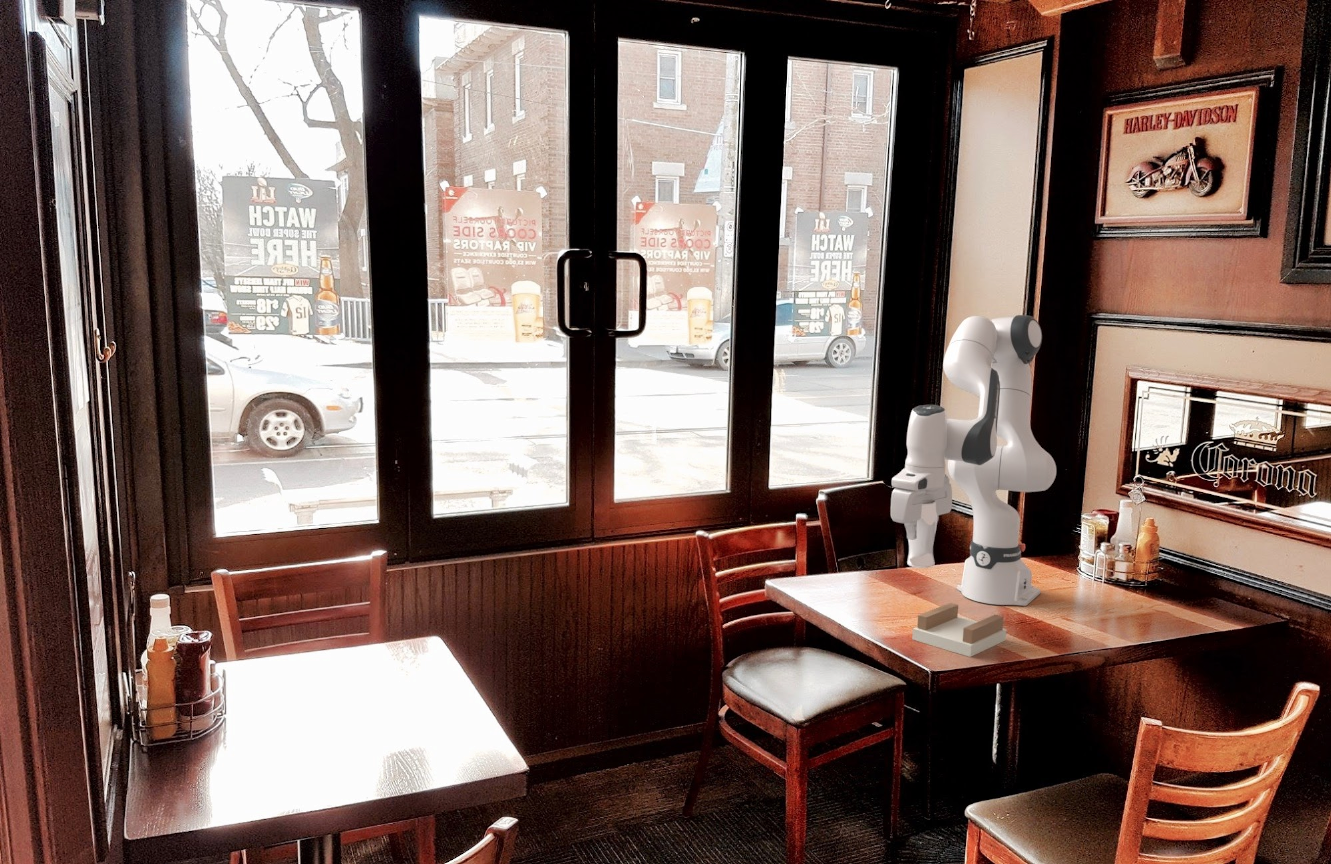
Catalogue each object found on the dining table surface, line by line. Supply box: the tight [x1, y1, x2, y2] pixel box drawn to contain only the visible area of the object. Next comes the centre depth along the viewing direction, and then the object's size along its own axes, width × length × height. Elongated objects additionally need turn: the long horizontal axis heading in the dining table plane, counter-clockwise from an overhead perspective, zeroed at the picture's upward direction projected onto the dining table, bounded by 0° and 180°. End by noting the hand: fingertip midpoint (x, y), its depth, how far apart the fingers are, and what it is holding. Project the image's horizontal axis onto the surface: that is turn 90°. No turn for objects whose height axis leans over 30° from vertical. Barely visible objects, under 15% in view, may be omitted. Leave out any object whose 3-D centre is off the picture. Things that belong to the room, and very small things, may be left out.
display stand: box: [911, 602, 1008, 658], centre depth 219 cm, size 16×14×6 cm
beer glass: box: [905, 500, 938, 569], centre depth 225 cm, size 7×7×15 cm
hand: (920, 536), depth 225 cm, fingers closed on beer glass, 6 cm apart
